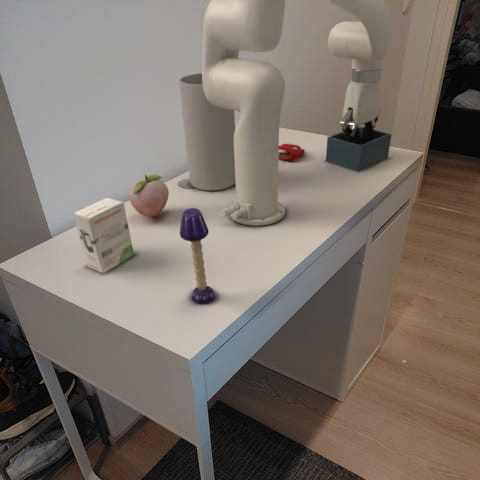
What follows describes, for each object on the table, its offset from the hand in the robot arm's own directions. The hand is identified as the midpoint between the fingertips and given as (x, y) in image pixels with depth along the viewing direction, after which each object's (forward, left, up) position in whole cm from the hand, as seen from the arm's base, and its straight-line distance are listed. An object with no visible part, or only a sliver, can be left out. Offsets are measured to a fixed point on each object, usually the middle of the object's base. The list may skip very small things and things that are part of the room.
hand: (357, 145), depth 134 cm
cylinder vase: (-38, +18, -4) cm, 42 cm away
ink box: (-78, +2, -4) cm, 78 cm away
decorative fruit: (-61, +13, -4) cm, 62 cm away
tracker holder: (-11, +18, -4) cm, 21 cm away
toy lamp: (-73, -21, -4) cm, 76 cm away
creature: (-1, 0, -2) cm, 2 cm away
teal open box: (0, 0, -4) cm, 4 cm away
